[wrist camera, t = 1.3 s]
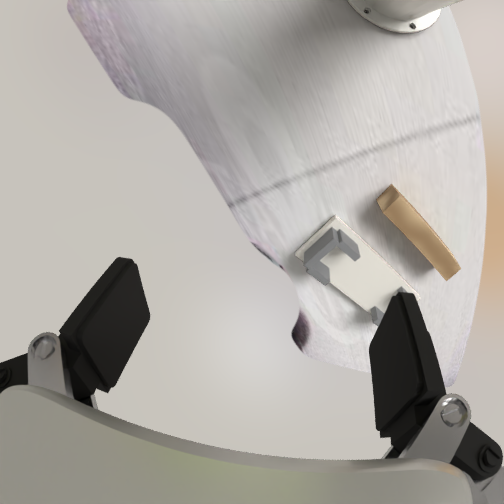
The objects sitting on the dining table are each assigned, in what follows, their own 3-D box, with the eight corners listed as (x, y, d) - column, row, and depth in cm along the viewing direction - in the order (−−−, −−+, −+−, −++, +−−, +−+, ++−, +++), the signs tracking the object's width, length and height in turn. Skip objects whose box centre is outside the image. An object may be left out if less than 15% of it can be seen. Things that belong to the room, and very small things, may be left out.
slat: (391, 183, 33) (400, 195, 30) (451, 253, 36) (461, 268, 33) (376, 199, 35) (382, 212, 31) (438, 265, 38) (446, 281, 35)
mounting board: (335, 214, 37) (338, 229, 33) (419, 295, 41) (425, 312, 38) (295, 251, 41) (294, 268, 38) (382, 320, 46) (386, 338, 42)
